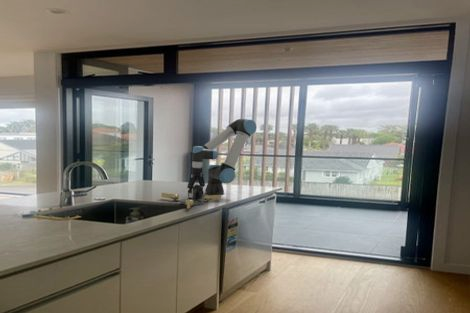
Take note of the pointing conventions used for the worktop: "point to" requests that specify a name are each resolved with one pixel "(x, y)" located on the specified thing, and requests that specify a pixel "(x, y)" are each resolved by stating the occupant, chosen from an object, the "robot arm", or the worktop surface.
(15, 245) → the worktop surface
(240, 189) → the worktop surface
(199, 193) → the camera
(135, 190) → the worktop surface
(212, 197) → the tribrach
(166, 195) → the knob lever
